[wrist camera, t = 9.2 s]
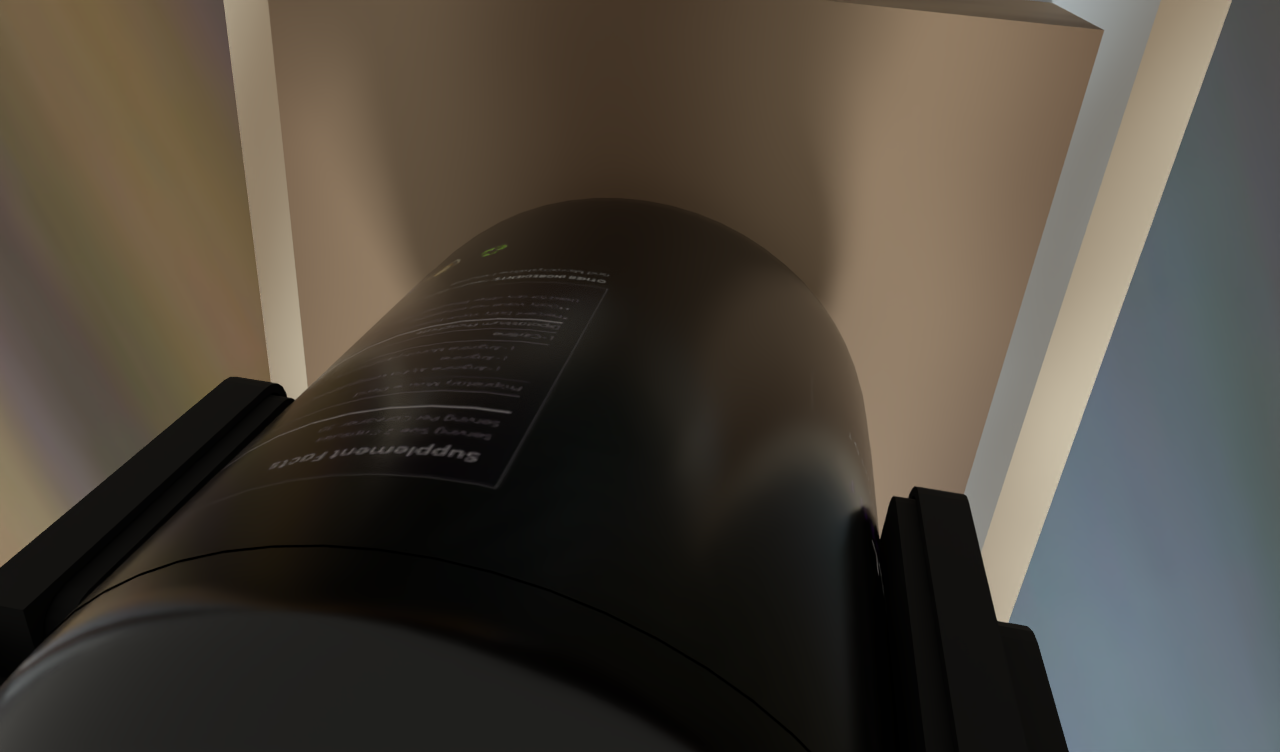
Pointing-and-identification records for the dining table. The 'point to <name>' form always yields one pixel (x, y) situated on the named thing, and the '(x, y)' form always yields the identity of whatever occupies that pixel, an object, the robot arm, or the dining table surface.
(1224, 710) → the dining table surface
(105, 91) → the dining table surface
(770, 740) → the supplement bottle
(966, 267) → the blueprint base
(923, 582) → the robot arm
